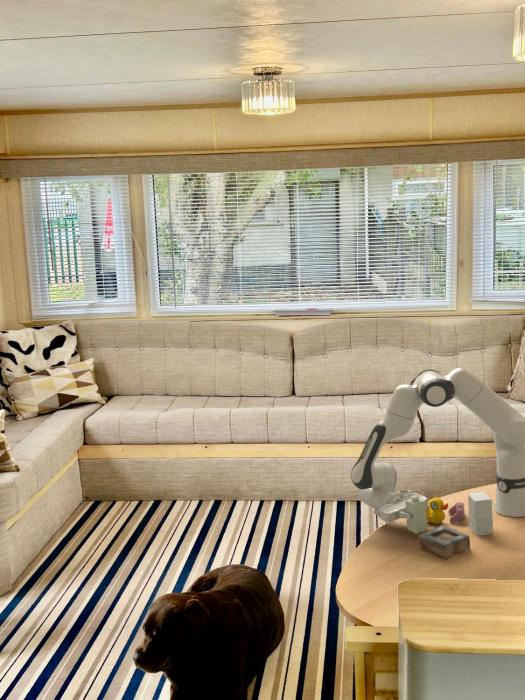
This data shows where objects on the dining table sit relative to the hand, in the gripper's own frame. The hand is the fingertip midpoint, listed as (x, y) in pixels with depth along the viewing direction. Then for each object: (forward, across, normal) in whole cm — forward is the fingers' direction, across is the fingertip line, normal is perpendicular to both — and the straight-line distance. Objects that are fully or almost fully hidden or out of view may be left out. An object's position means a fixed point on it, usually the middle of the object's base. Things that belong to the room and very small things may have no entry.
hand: (417, 514), depth 274 cm
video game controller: (-2, +21, +9) cm, 23 cm away
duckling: (-5, +13, +9) cm, 16 cm away
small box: (+11, +20, +9) cm, 24 cm away
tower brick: (-1, 0, +6) cm, 6 cm away
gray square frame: (+13, 0, +9) cm, 16 cm away
